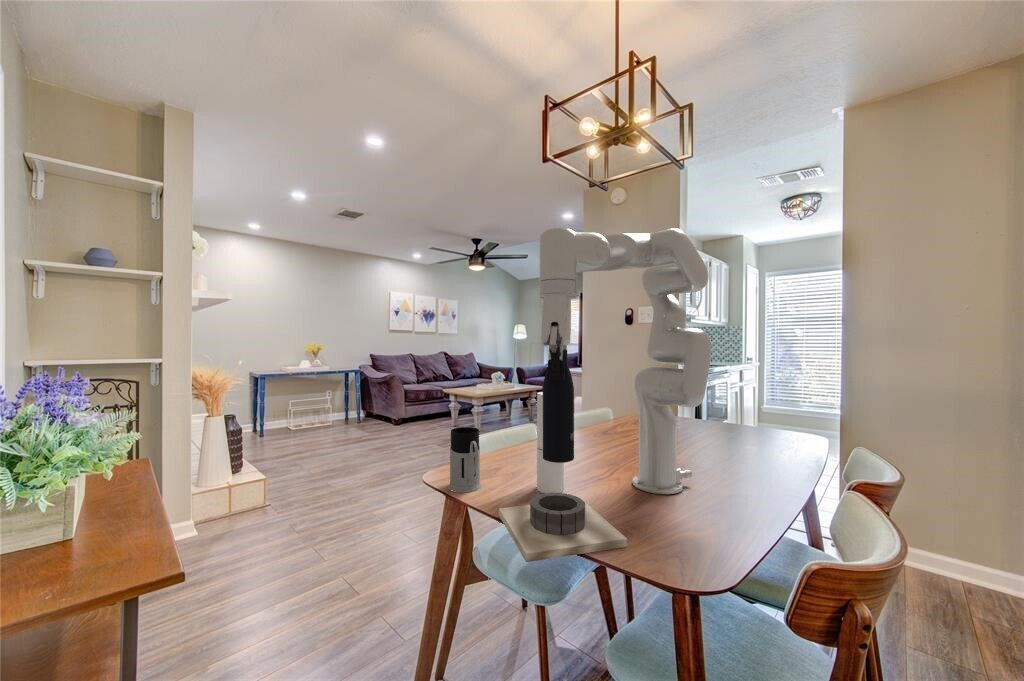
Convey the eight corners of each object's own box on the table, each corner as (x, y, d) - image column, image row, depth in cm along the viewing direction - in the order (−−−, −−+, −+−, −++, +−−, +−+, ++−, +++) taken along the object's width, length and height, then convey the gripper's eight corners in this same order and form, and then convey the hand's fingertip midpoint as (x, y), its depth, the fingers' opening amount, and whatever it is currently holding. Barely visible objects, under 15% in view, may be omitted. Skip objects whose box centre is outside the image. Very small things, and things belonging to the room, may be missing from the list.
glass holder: (475, 479, 114) (475, 425, 114) (493, 497, 101) (493, 436, 101) (444, 483, 111) (444, 428, 111) (459, 502, 98) (459, 440, 98)
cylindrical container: (563, 494, 103) (563, 395, 103) (535, 492, 104) (535, 394, 104) (565, 484, 110) (565, 391, 110) (539, 483, 111) (539, 391, 111)
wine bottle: (540, 454, 87) (540, 313, 87) (570, 453, 88) (569, 313, 87) (545, 463, 81) (545, 311, 80) (577, 462, 81) (577, 311, 81)
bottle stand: (581, 505, 96) (581, 481, 96) (627, 546, 77) (627, 517, 77) (498, 515, 91) (498, 490, 91) (526, 562, 72) (526, 530, 72)
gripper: (546, 295, 93) (546, 375, 93) (531, 286, 77) (532, 383, 77) (580, 294, 91) (580, 375, 91) (572, 284, 75) (572, 384, 75)
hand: (558, 378), depth 84 cm, fingers closed on wine bottle, 5 cm apart
